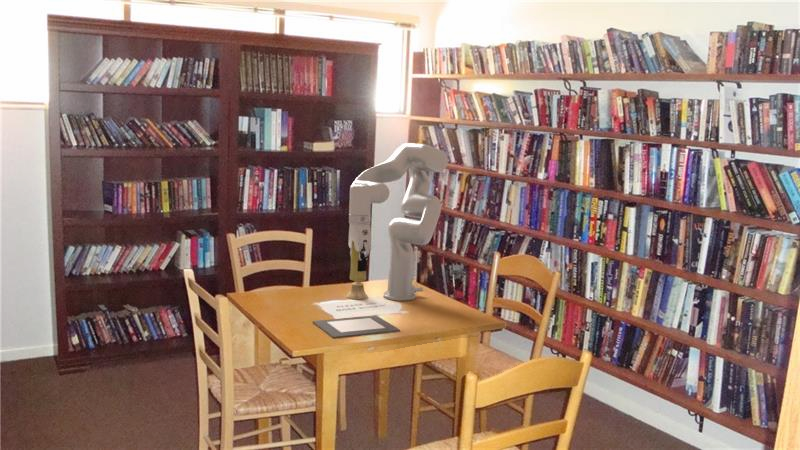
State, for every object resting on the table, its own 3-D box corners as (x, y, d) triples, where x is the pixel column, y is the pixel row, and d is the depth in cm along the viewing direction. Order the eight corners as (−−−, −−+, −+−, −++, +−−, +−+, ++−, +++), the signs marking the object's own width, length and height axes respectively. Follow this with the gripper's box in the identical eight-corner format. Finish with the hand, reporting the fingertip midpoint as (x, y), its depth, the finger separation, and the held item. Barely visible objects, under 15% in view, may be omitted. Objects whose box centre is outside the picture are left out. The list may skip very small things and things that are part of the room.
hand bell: (343, 294, 287) (345, 255, 284) (363, 293, 290) (364, 254, 288) (351, 300, 279) (352, 259, 277) (371, 299, 283) (373, 258, 280)
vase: (367, 277, 264) (368, 238, 262) (365, 281, 258) (366, 242, 256) (350, 276, 265) (351, 237, 262) (348, 280, 259) (349, 241, 256)
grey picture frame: (376, 316, 259) (376, 314, 259) (400, 331, 243) (400, 329, 243) (312, 322, 248) (312, 320, 247) (333, 338, 232) (333, 336, 232)
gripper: (380, 222, 252) (378, 273, 255) (359, 214, 267) (357, 263, 270) (360, 223, 248) (358, 275, 252) (340, 215, 263) (338, 264, 266)
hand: (358, 268), depth 261 cm, fingers closed on vase, 5 cm apart
